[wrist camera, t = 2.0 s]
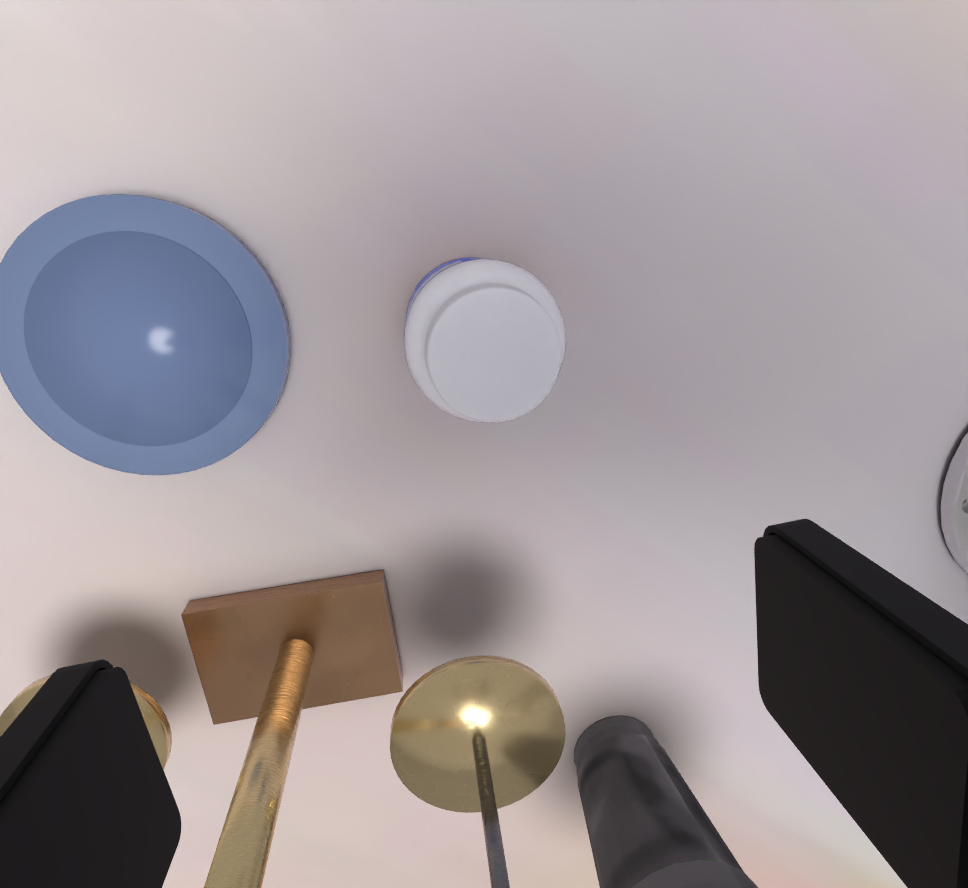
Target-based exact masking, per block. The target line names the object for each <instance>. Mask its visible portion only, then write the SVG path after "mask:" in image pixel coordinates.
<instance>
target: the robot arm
mask: <svg viewBox="0 0 968 888" xmlns="http://www.w3.org/2000/svg"><path fill="white" fill-rule="evenodd" d="M941 523H942V530H943V533H944V537H945V541H946V544H947V547H948V548H949V550H950V552H951V554H952V556H953V557H954V559H955V561H956V562H957V563H958V564H959V565H960V566H961V567H962V569H963V570H964V571H965V572H966V573H967V574H968V432H967V434H966V435H965V437H964V438H963V439H962V441H961V443H960V445H959V447H958V449H957V451H956V453H955V455H954V457H953V459H952V461H951V464H950V467H949V470H948V473H947V476H946V479H945V482H944V486H943V493H942V500H941ZM754 551H755V583H756V614H757V645H758V676H759V690H760V694H761V697H762V700H763V703H764V705H765V707H766V709H767V710H768V712H769V713H770V714H771V716H772V717H773V718H774V719H775V721H776V722H777V723H778V725H779V726H780V727H781V728H782V730H783V731H784V732H785V733H786V735H787V736H788V737H789V738H790V740H791V741H792V742H793V743H794V745H795V746H796V747H797V749H798V750H799V751H800V752H801V754H802V755H803V756H804V757H805V759H806V760H807V761H808V762H809V764H810V765H811V766H812V767H813V769H814V770H815V771H816V773H817V774H818V775H819V776H820V778H821V779H822V780H823V781H824V783H825V784H826V785H827V786H828V788H829V789H830V790H831V791H832V793H833V794H834V795H835V797H836V798H837V799H838V800H839V802H840V803H841V804H842V805H843V807H844V808H845V809H846V810H847V812H848V813H849V814H850V815H851V817H852V818H853V819H854V821H855V822H856V823H857V824H858V826H859V827H860V828H861V829H862V831H863V832H864V833H865V834H866V836H867V837H868V838H869V839H870V841H871V842H872V843H873V845H874V846H875V847H876V848H877V850H878V851H879V852H880V853H881V855H882V856H883V857H884V858H885V860H886V861H887V862H888V863H889V865H890V866H891V867H892V869H893V870H894V871H895V872H896V874H897V875H898V876H899V877H900V879H901V880H902V881H903V882H904V884H905V885H906V886H907V887H908V888H968V624H966V623H965V622H963V621H962V620H960V619H959V618H957V617H956V616H954V615H953V614H951V613H950V612H948V611H947V610H945V609H944V608H942V607H941V606H939V605H938V604H936V603H934V602H933V601H931V600H930V599H928V598H927V597H925V596H924V595H922V594H921V593H919V592H918V591H916V590H915V589H913V588H912V587H910V586H909V585H907V584H906V583H904V582H903V581H901V580H900V579H898V578H897V577H895V576H894V575H892V574H891V573H889V572H888V571H886V570H885V569H883V568H882V567H880V566H879V565H877V564H876V563H874V562H873V561H871V560H870V559H868V558H867V557H865V556H864V555H862V554H861V553H859V552H858V551H856V550H855V549H853V548H852V547H850V546H849V545H847V544H846V543H844V542H843V541H841V540H840V539H838V538H837V537H835V536H834V535H832V534H830V533H829V532H827V531H826V530H824V529H823V528H821V527H820V526H818V525H817V524H815V523H814V522H812V521H810V520H808V519H801V520H796V521H791V522H786V523H781V524H776V525H771V526H768V527H767V528H766V529H765V532H764V534H763V537H760V538H758V539H757V540H756V542H755V548H754ZM180 834H181V817H180V813H179V810H178V807H177V805H176V802H175V799H174V797H173V794H172V791H171V789H170V786H169V784H168V781H167V778H166V776H165V773H164V771H163V768H162V765H161V763H160V760H159V757H158V755H157V752H156V750H155V747H154V744H153V742H152V739H151V737H150V734H149V731H148V729H147V726H146V723H145V721H144V718H143V716H142V713H141V710H140V708H139V705H138V703H137V700H136V697H135V695H134V692H133V689H132V687H131V684H130V682H129V679H128V676H127V674H126V673H125V671H124V670H123V669H122V668H120V667H115V668H113V666H112V665H111V664H110V663H109V662H108V661H106V660H98V661H93V662H88V663H83V664H78V665H73V666H68V667H63V668H60V669H57V670H56V671H55V672H54V673H53V674H52V675H51V676H50V677H49V679H48V680H47V681H46V682H45V684H44V685H43V686H42V687H41V688H40V690H39V691H38V692H37V693H36V694H35V696H34V697H33V698H32V699H31V701H30V702H29V703H28V704H27V705H26V707H25V708H24V709H23V710H22V711H21V713H20V714H19V715H18V716H17V717H16V719H15V720H14V721H13V722H12V724H11V725H10V726H9V727H8V728H7V730H6V731H5V732H4V733H3V734H2V736H1V737H0V888H162V886H163V883H164V880H165V878H166V875H167V872H168V870H169V867H170V864H171V862H172V859H173V856H174V854H175V851H176V848H177V846H178V843H179V839H180Z"/></svg>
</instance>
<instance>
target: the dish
mask: <svg viewBox="0 0 968 888" xmlns="http://www.w3.org/2000/svg"><path fill="white" fill-rule="evenodd" d="M289 363H290V333H289V326H288V320H287V316H286V313H285V309H284V305H283V303H282V300H281V298H280V296H279V293H278V291H277V288H276V286H275V285H274V283H273V281H272V279H271V278H270V276H269V274H268V272H267V271H266V269H265V268H264V267H263V265H262V264H261V263H260V261H259V260H258V259H257V257H256V256H255V255H254V254H253V253H252V252H251V251H250V250H249V248H248V247H247V246H246V245H245V244H244V243H243V242H242V241H241V240H239V239H238V238H237V237H236V236H235V235H233V234H232V233H231V232H230V231H229V230H227V229H226V228H225V227H223V226H222V225H220V224H218V223H217V222H215V221H214V220H212V219H211V218H209V217H207V216H205V215H203V214H201V213H199V212H197V211H195V210H193V209H190V208H187V207H184V206H182V205H179V204H176V203H173V202H168V201H164V200H159V199H154V198H149V197H145V196H137V195H125V194H113V195H99V196H93V197H88V198H82V199H79V200H76V201H73V202H70V203H67V204H64V205H62V206H60V207H58V208H56V209H54V210H52V211H50V212H48V213H46V214H44V215H43V216H42V217H40V218H39V219H38V220H36V221H35V222H33V223H32V224H31V225H29V226H28V227H27V228H26V229H25V230H24V231H23V232H22V233H21V234H20V235H19V236H18V237H17V238H16V240H15V241H14V243H13V244H12V245H11V247H10V248H9V250H8V251H7V252H6V254H5V256H4V258H3V260H2V262H1V264H0V373H1V375H2V377H3V380H4V382H5V383H6V385H7V387H8V389H9V390H10V392H11V394H12V396H13V397H14V399H15V400H16V401H17V403H18V404H19V405H20V407H21V408H22V409H23V411H24V412H25V413H26V414H27V416H28V417H29V418H30V419H31V420H32V421H33V422H34V423H35V424H36V425H37V426H38V427H39V428H40V429H41V430H42V431H43V432H45V433H46V434H47V435H48V436H49V437H51V438H52V439H53V440H54V441H56V442H57V443H59V444H60V445H62V446H63V447H65V448H66V449H68V450H69V451H71V452H73V453H75V454H77V455H78V456H80V457H82V458H84V459H86V460H88V461H91V462H93V463H96V464H99V465H101V466H104V467H107V468H110V469H114V470H118V471H122V472H127V473H134V474H141V475H169V474H179V473H184V472H189V471H193V470H197V469H200V468H203V467H206V466H208V465H211V464H213V463H215V462H217V461H219V460H221V459H223V458H225V457H227V456H229V455H230V454H232V453H233V452H234V451H236V450H237V449H239V448H240V447H241V446H243V445H244V444H245V443H246V442H247V441H248V440H249V439H250V438H251V437H252V436H253V435H254V434H255V433H256V432H257V431H258V429H259V428H260V427H261V426H262V425H263V423H264V422H265V421H266V420H267V419H268V417H269V416H270V414H271V413H272V411H273V409H274V408H275V406H276V405H277V403H278V401H279V398H280V396H281V394H282V391H283V389H284V386H285V383H286V379H287V375H288V371H289Z"/></svg>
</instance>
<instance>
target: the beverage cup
mask: <svg viewBox="0 0 968 888" xmlns="http://www.w3.org/2000/svg"><path fill="white" fill-rule="evenodd" d="M574 762H575V765H576V768H577V776H578V787H579V792H580V796H581V801H582V806H583V810H584V815H585V820H586V824H587V829H588V834H589V838H590V843H591V848H592V852H593V857H594V862H595V867H596V871H597V876H598V881H599V885H600V888H758V887H757V886H756V885H755V884H754V882H753V881H752V880H751V879H750V878H749V877H748V876H747V875H746V874H745V873H744V871H743V870H742V868H741V867H740V865H739V864H738V862H737V861H736V859H735V858H734V856H733V855H732V853H731V852H730V850H729V848H728V847H727V845H726V844H725V842H724V841H723V839H722V838H721V836H720V835H719V833H718V832H717V830H716V828H715V827H714V825H713V824H712V822H711V821H710V819H709V818H708V816H707V815H706V813H705V812H704V810H703V808H702V807H701V805H700V804H699V802H698V801H697V799H696V798H695V796H694V795H693V793H692V792H691V790H690V789H689V787H688V785H687V784H686V782H685V781H684V779H683V778H682V776H681V775H680V773H679V772H678V770H677V769H676V767H675V765H674V764H673V762H672V761H671V759H670V758H669V756H668V755H667V753H666V752H665V750H664V749H663V748H662V747H661V746H660V745H659V743H658V742H657V740H656V739H655V738H654V737H653V735H652V733H651V731H650V730H649V729H648V728H647V727H646V725H645V724H644V723H643V722H641V721H639V720H637V719H635V718H632V717H625V716H615V717H608V718H605V719H603V720H600V721H598V722H596V723H594V724H593V725H592V726H590V727H589V728H588V729H586V730H585V731H584V733H583V734H582V735H581V736H580V738H579V739H578V741H577V744H576V747H575V750H574Z"/></svg>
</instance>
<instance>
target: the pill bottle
mask: <svg viewBox="0 0 968 888" xmlns="http://www.w3.org/2000/svg"><path fill="white" fill-rule="evenodd" d="M404 337H405V338H404V339H405V353H406V359H407V363H408V366H409V369H410V372H411V374H412V377H413V379H414V381H415V382H416V384H417V385H418V387H419V388H420V390H421V391H422V392H423V393H424V395H425V396H426V397H427V398H428V399H429V400H430V401H431V402H432V403H433V404H435V405H436V406H437V407H438V408H440V409H441V410H443V411H445V412H447V413H448V414H450V415H453V416H455V417H457V418H461V419H464V420H469V421H475V422H491V423H495V422H504V421H509V420H513V419H516V418H518V417H521V416H523V415H525V414H526V413H528V412H530V411H531V410H533V409H534V408H536V407H537V406H538V405H539V404H540V403H541V402H542V401H543V400H544V399H545V397H546V396H547V395H548V394H549V392H550V391H551V389H552V387H553V386H554V384H555V381H556V379H557V376H558V373H559V371H560V368H561V365H562V361H563V358H564V352H565V328H564V323H563V318H562V315H561V312H560V309H559V307H558V305H557V302H556V301H555V299H554V297H553V296H552V294H551V293H550V291H549V290H548V289H547V288H546V287H545V286H544V285H543V283H542V282H541V281H540V280H538V279H537V278H536V277H535V276H534V275H532V274H531V273H529V272H528V271H526V270H524V269H523V268H520V267H518V266H516V265H513V264H510V263H507V262H503V261H499V260H491V259H482V258H470V257H468V258H459V259H455V260H451V261H448V262H446V263H444V264H442V265H440V266H438V267H436V268H435V269H433V270H432V271H430V272H429V273H428V274H427V275H426V276H425V277H424V278H423V279H422V280H421V281H420V283H419V284H418V285H417V287H416V288H415V290H414V292H413V294H412V296H411V298H410V301H409V303H408V306H407V314H406V324H405V333H404Z"/></svg>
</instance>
